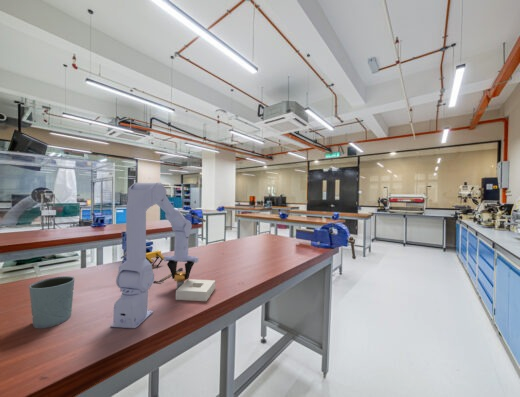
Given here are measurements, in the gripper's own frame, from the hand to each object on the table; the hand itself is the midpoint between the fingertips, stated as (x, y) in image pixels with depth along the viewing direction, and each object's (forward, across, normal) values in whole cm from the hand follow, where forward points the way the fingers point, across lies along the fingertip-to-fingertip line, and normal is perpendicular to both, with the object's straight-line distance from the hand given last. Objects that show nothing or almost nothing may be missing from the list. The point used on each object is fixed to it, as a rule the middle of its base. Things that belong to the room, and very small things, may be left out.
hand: (180, 278), depth 94 cm
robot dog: (+4, +29, -23) cm, 37 cm away
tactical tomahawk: (+5, +10, -13) cm, 17 cm away
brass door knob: (+4, 0, 0) cm, 4 cm away
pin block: (+4, -9, +5) cm, 11 cm away
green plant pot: (+4, +28, +29) cm, 41 cm away
